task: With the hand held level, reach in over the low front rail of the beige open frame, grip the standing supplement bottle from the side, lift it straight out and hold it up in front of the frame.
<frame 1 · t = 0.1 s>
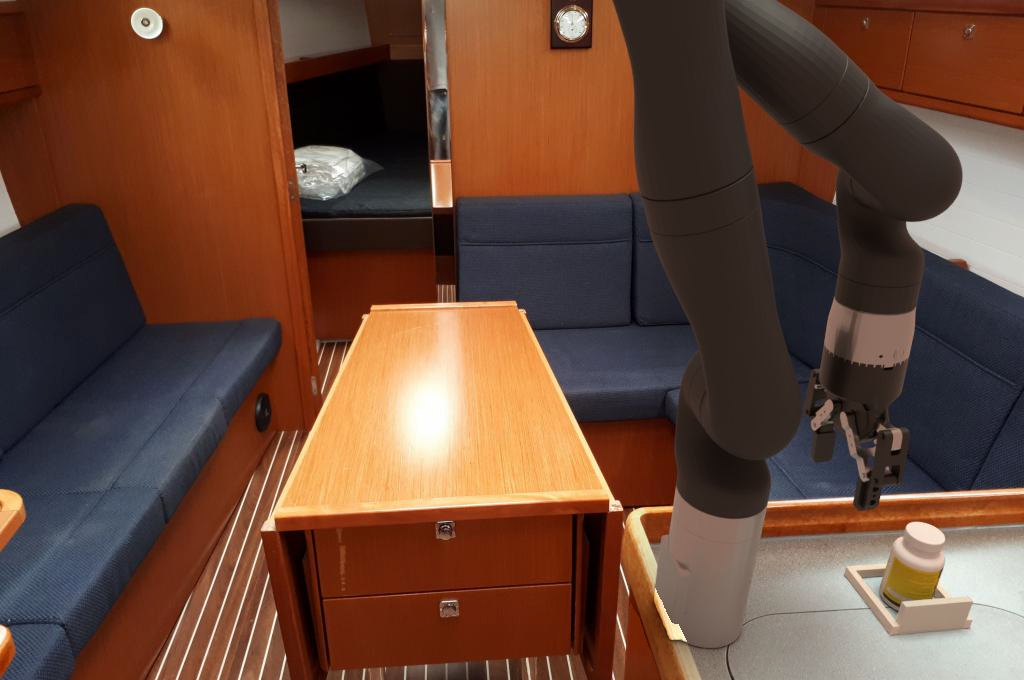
hand: (841, 483, 78), 17 cm above the counter, tool pointing down, fingers open, 8 cm apart
supplement bottle: (903, 600, 87), resting in beige open frame
beige open frame: (904, 599, 87), on the counter
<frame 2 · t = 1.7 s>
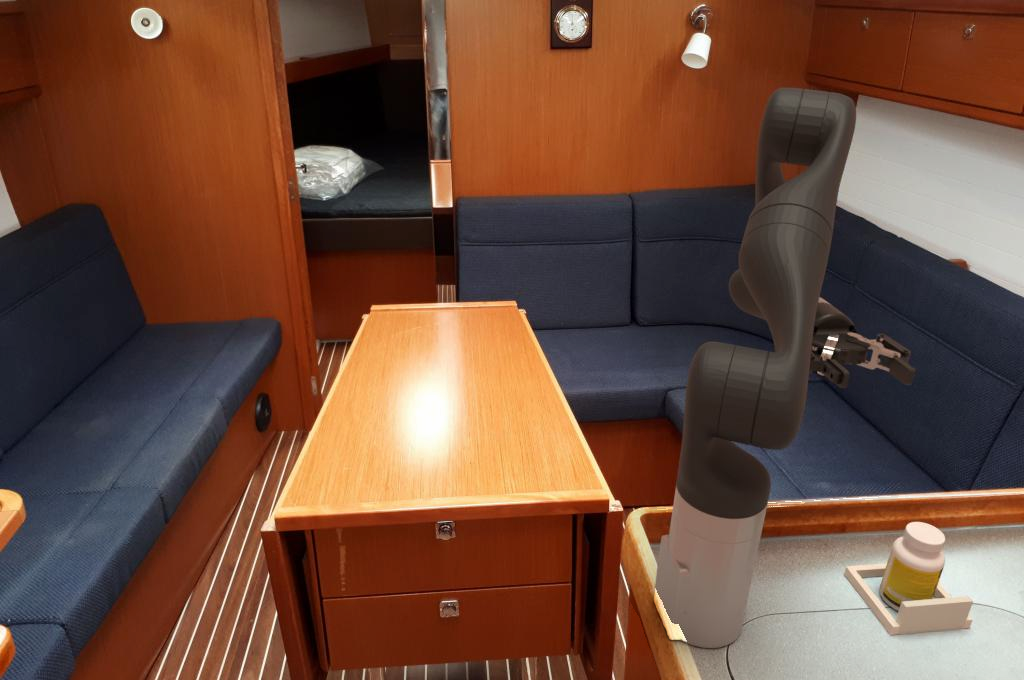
hand: (878, 379, 90), 22 cm above the counter, tool horizontal, fingers open, 8 cm apart
nothing on the counter moved.
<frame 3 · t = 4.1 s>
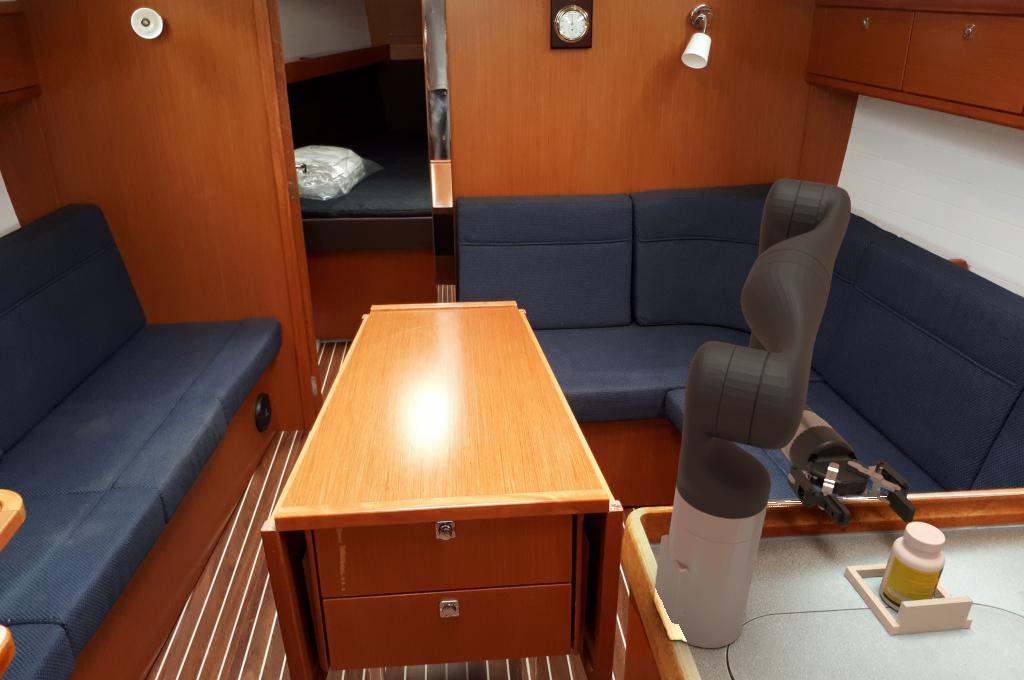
hand: (879, 518, 91), 6 cm above the counter, tool horizontal, fingers open, 8 cm apart
nothing on the counter moved.
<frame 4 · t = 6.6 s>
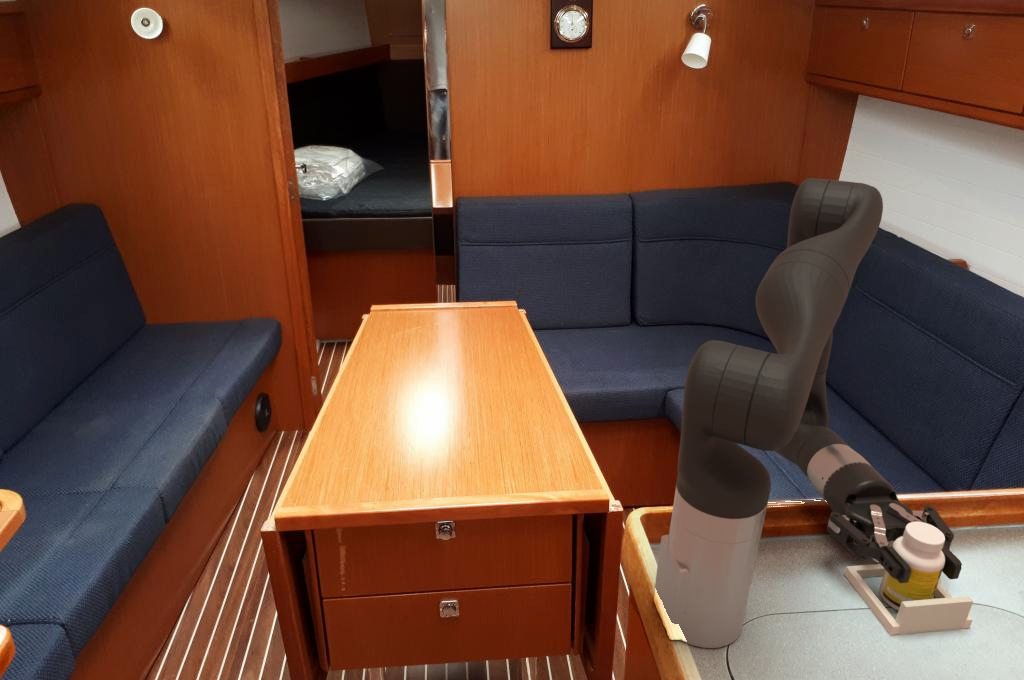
hand: (931, 574, 82), 6 cm above the counter, tool horizontal, fingers closed on supplement bottle, 5 cm apart
supplement bottle: (903, 600, 87), resting in beige open frame, touching gripper
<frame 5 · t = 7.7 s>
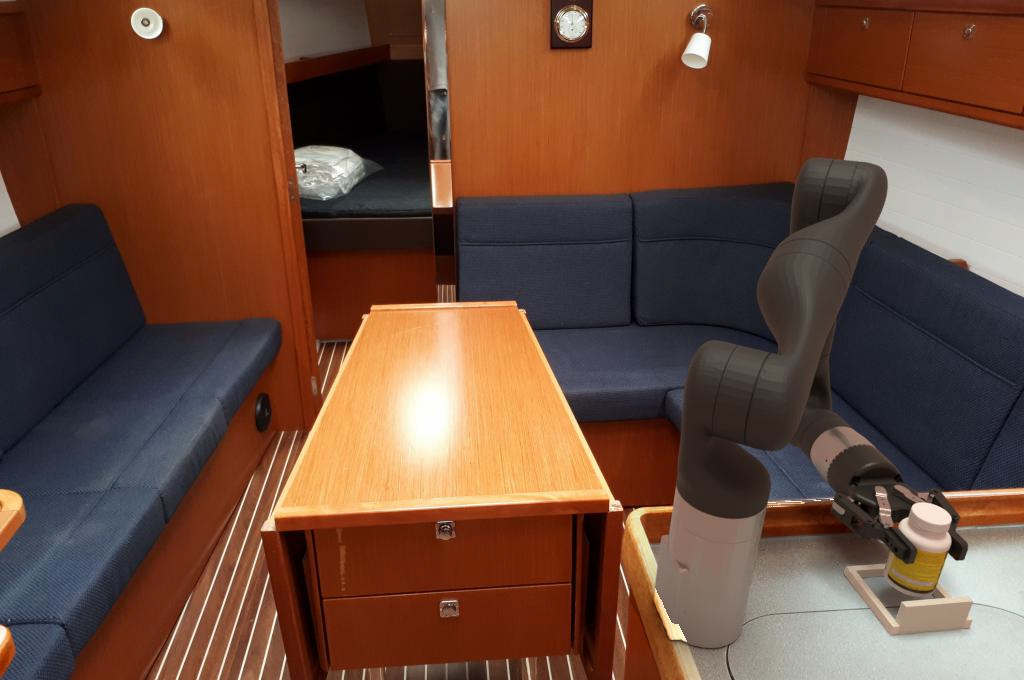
hand: (937, 555, 80), 9 cm above the counter, tool horizontal, fingers closed on supplement bottle, 5 cm apart
supplement bottle: (908, 583, 85), point 3 cm above the counter, touching gripper
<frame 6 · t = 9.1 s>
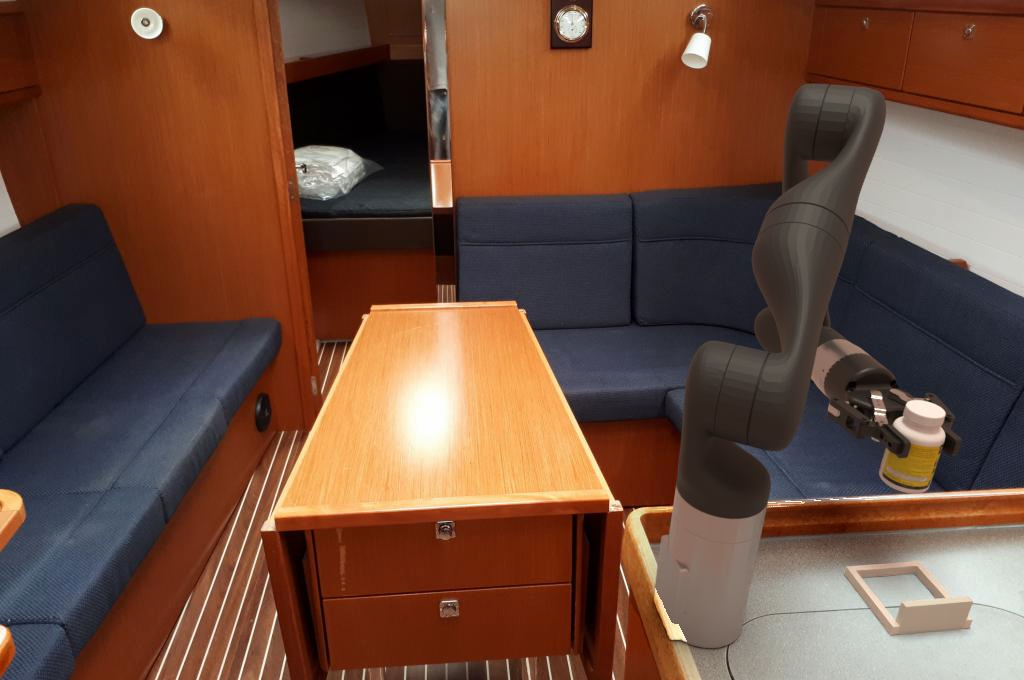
hand: (931, 449, 81), 19 cm above the counter, tool horizontal, fingers closed on supplement bottle, 5 cm apart
supplement bottle: (903, 482, 86), point 13 cm above the counter, touching gripper
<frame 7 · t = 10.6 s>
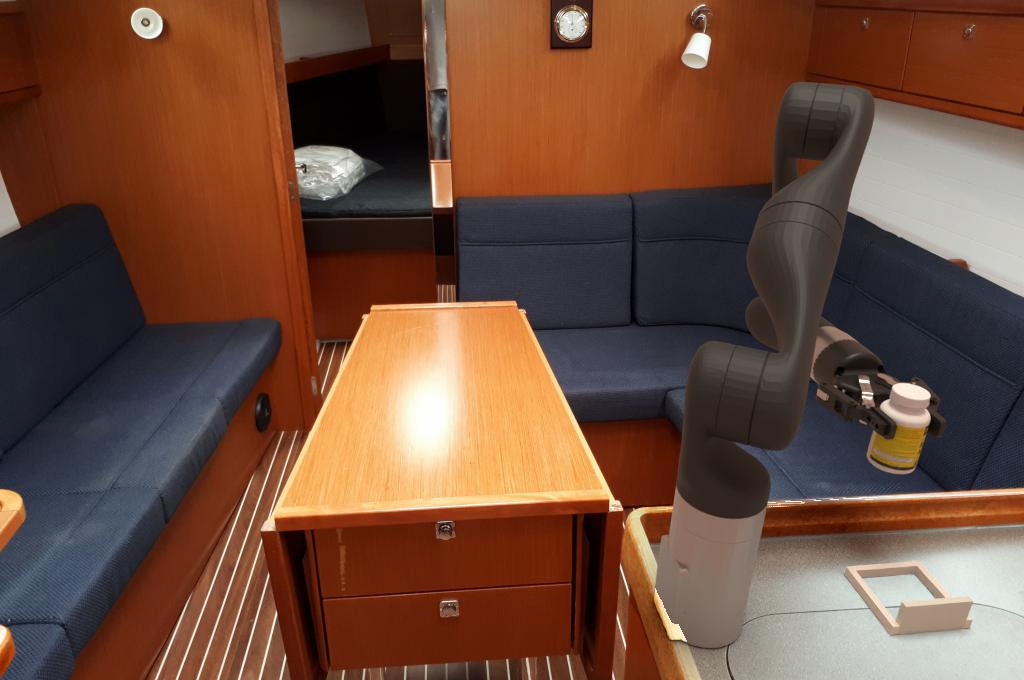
hand: (917, 431, 83), 20 cm above the counter, tool horizontal, fingers closed on supplement bottle, 5 cm apart
supplement bottle: (890, 464, 88), point 13 cm above the counter, touching gripper
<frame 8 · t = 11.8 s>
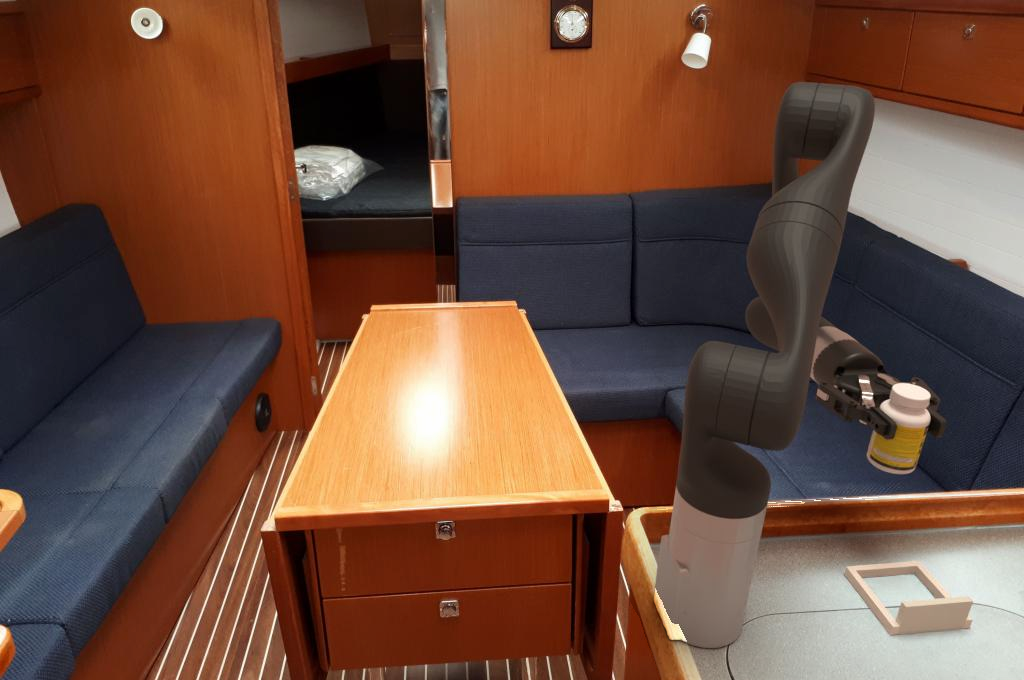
hand: (917, 431, 83), 20 cm above the counter, tool horizontal, fingers closed on supplement bottle, 5 cm apart
supplement bottle: (890, 464, 88), point 13 cm above the counter, touching gripper
at the end: the gripper is holding supplement bottle; supplement bottle inside the target area on the beige open frame (0.8 cm from its centre), point 13.4 cm above the beige open frame's base; supplement bottle tilted 1° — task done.
